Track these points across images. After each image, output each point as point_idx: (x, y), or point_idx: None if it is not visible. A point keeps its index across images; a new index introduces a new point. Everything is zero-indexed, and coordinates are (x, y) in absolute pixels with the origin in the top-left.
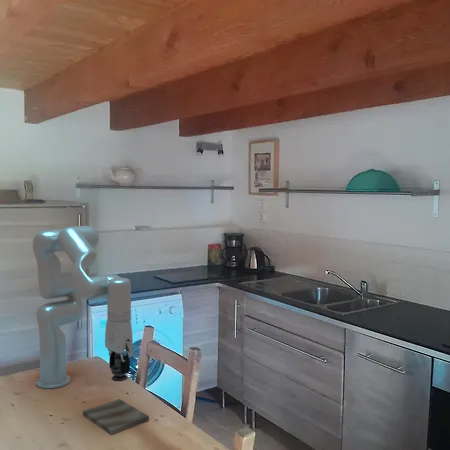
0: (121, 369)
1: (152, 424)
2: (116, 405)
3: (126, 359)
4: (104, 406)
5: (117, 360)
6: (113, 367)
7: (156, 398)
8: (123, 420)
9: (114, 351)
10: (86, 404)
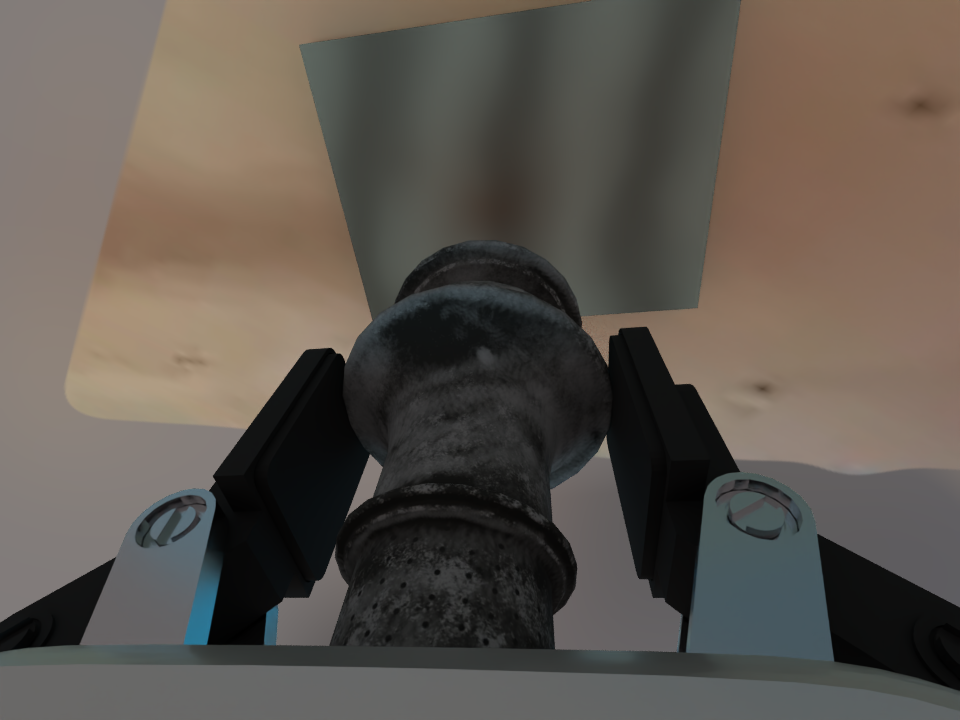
0: (282, 384)
1: (333, 312)
2: (624, 250)
3: (83, 577)
4: (673, 175)
5: (398, 471)
6: (486, 341)
7: None
8: (398, 188)
9: (168, 674)
10: (871, 98)
